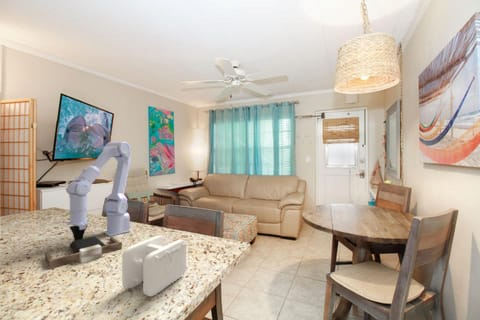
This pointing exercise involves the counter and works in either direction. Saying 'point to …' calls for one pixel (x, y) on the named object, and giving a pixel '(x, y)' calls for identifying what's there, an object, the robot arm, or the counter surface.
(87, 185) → the robot arm
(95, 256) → the charging dock
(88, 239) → the black rounded slab
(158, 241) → the cable organizer
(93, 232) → the counter surface
